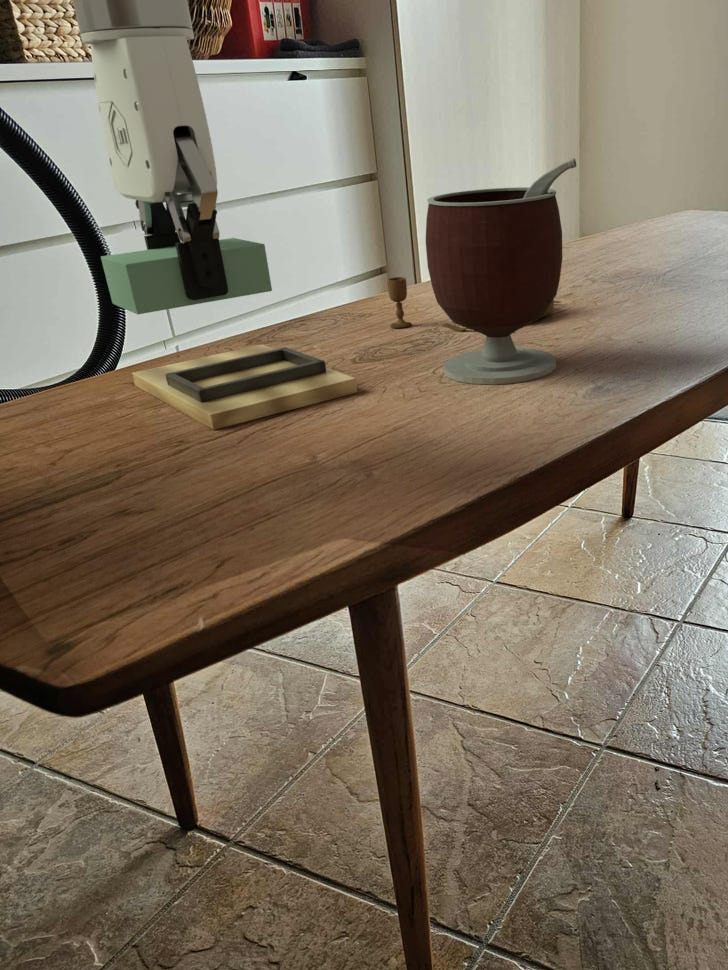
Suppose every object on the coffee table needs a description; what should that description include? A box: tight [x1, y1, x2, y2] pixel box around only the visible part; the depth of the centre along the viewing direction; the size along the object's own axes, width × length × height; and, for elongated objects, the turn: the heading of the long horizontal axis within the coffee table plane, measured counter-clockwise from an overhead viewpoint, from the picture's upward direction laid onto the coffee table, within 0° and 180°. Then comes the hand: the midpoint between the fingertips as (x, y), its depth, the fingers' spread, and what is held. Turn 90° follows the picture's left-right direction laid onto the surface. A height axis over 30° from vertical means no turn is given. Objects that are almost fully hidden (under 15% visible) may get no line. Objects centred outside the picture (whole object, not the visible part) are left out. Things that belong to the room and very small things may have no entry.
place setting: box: [386, 276, 562, 332], centre depth 119 cm, size 18×20×6 cm
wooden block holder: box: [131, 343, 358, 431], centre depth 96 cm, size 16×22×3 cm
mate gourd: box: [425, 158, 577, 385], centre depth 93 cm, size 16×14×20 cm
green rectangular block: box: [100, 237, 273, 315], centre depth 71 cm, size 11×6×4 cm, turn 127°
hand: (191, 289), depth 71 cm, fingers closed on green rectangular block, 6 cm apart
